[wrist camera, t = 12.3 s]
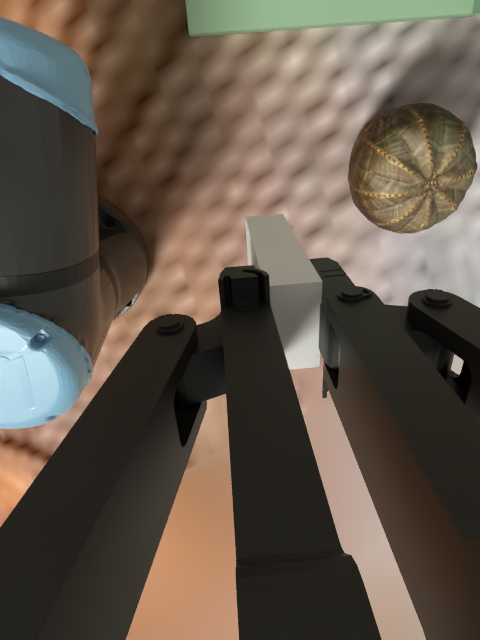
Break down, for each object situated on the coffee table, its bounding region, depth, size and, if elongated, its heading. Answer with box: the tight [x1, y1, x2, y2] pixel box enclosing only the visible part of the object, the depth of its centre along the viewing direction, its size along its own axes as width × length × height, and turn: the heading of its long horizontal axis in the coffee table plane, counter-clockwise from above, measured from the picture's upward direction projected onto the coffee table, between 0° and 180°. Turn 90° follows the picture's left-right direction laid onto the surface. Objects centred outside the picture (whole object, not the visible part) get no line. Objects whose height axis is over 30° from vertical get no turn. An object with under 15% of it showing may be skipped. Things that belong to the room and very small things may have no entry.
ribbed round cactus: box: [348, 103, 477, 233], centre depth 39 cm, size 11×11×12 cm
